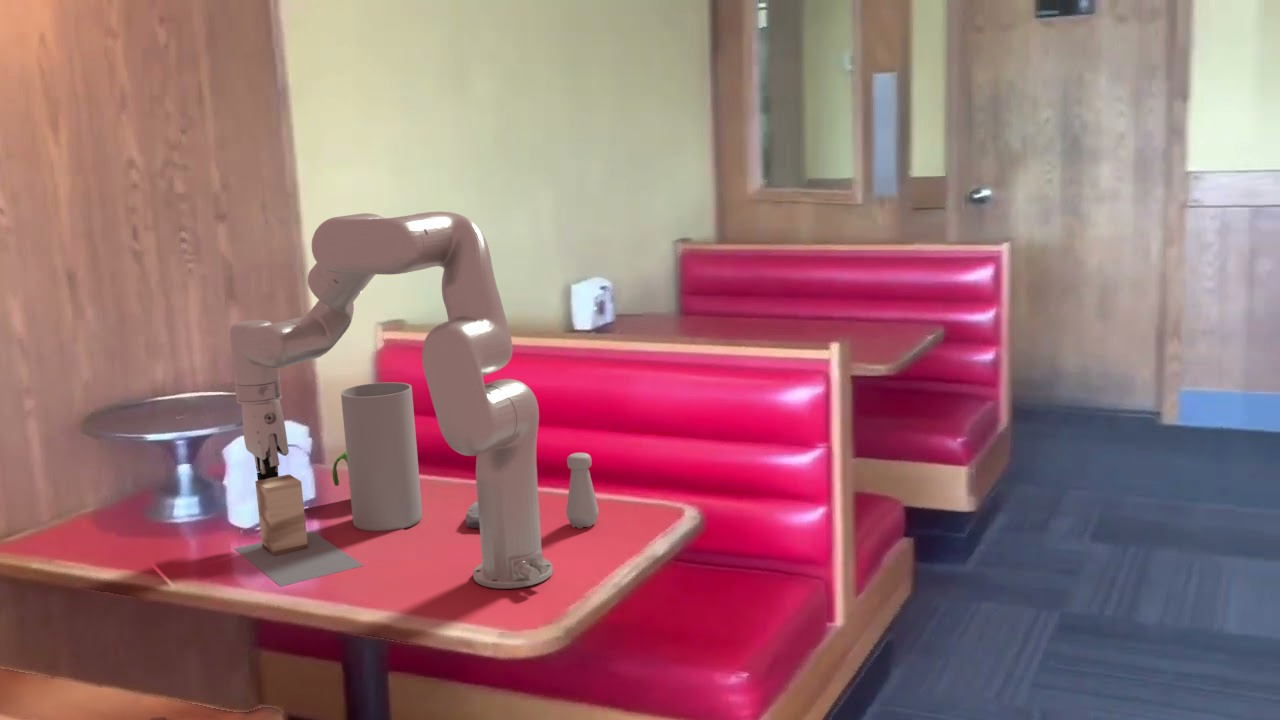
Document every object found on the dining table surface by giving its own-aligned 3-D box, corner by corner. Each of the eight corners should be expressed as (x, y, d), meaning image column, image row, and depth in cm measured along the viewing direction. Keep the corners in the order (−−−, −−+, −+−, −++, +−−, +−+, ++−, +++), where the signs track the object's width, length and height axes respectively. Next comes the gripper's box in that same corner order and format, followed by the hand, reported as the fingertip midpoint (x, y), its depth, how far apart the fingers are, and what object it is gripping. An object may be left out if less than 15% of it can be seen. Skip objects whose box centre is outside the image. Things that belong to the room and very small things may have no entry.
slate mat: (363, 567, 204) (363, 565, 203) (280, 588, 196) (280, 586, 196) (312, 532, 223) (311, 530, 223) (234, 550, 215) (234, 548, 215)
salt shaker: (605, 522, 221) (601, 451, 219) (588, 531, 216) (584, 460, 214) (578, 518, 224) (574, 448, 222) (560, 527, 219) (556, 456, 217)
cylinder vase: (340, 524, 227) (327, 391, 222) (397, 507, 236) (386, 379, 231) (378, 538, 218) (366, 400, 214) (436, 520, 227) (425, 387, 222)
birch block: (308, 548, 213) (301, 481, 211) (273, 556, 210) (266, 488, 208) (296, 539, 218) (289, 474, 216) (262, 547, 215) (255, 481, 213)
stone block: (529, 540, 219) (537, 512, 229) (525, 516, 218) (534, 489, 227) (463, 543, 221) (475, 515, 230) (459, 520, 219) (471, 492, 228)
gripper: (294, 394, 210) (305, 498, 213) (266, 382, 222) (276, 480, 225) (250, 402, 206) (262, 507, 209) (224, 389, 218) (235, 489, 221)
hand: (269, 493), depth 217 cm, fingers closed
